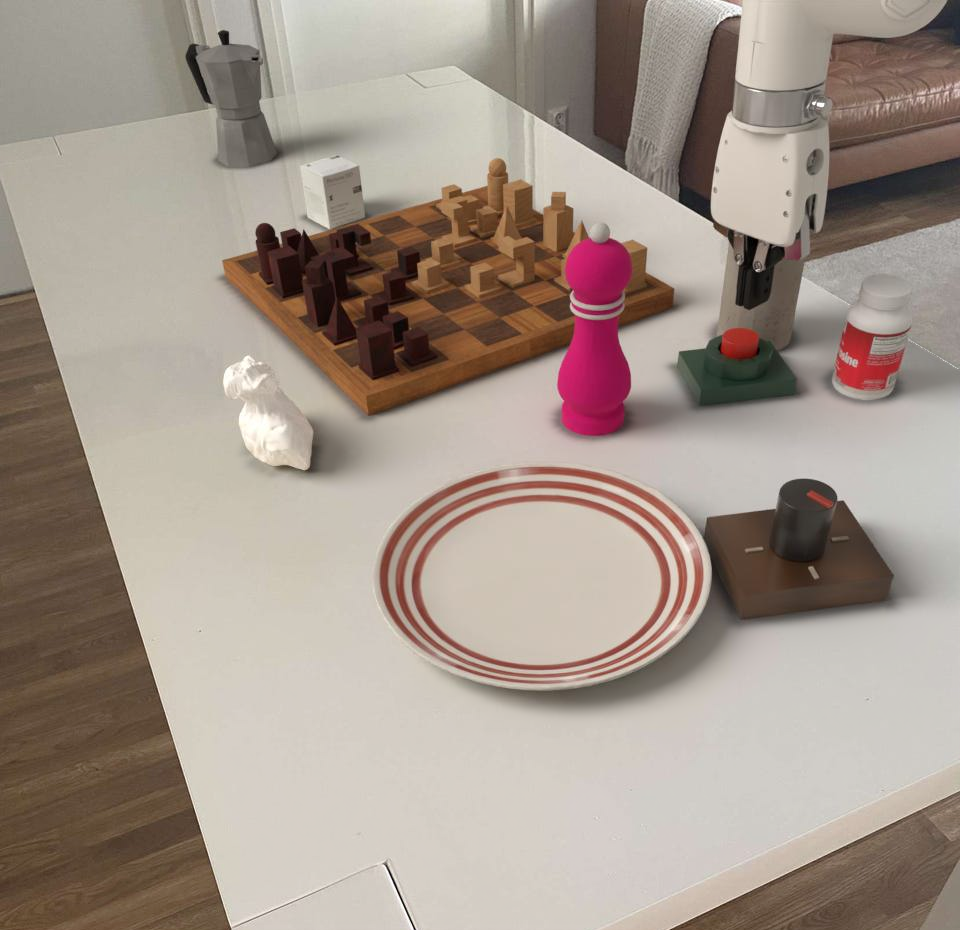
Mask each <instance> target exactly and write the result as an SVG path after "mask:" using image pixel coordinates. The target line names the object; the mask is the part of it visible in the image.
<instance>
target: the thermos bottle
mask: <svg viewBox="0 0 960 930" xmlns="http://www.w3.org/2000/svg"><path fill="white" fill-rule="evenodd" d="M824 117H825V116H821V117H820V119H822V120H825V121H827V120H826V119H825V118H824ZM828 130H829V131H830V124H829V122H828ZM725 261H726V262H725V269H724V277H723V286H722V292H721V299H720V307H719V316H718V323H717V330H716V331H717V332H716V337H718V336H720V335H723V334H724V332H725V331H727V330H729V329H733V328H746V329H750V330H752V331H754V332H756V333H757V334H758V336H759V338H761V339H763V340H765V341H770V342H771V343H772V345H773V346H774V347H775V349H776V350H777V352H778V351H781V350H782V349H784V348H786V347H787V346H788V345H789V344H790V341H791V339H792V332H793V328H794V322H795V317H796V310H797V305H798V301H799V294H800V289H801V285H802V279H803V273H804V268H805V263H806V262H805V261H806V257H805V258H802V259H800V260H785V259H783V260H781V262H780V263H778V264H776V265H775V267H774V274H773V281H772V289H771V294H770V297H769V299H768V301H767V302H765V303H763V304H761V305H759V306H757V307H755V308H753V309H751V310H747V309H745V308H744V306H741V307H740V306H738V305H736V304H735V300H736V292H737V289H736V287H737V279H738V270H739V265H738V264H736V263H735V261H734V250H733V248H732V246H731V244H730V242H729V241H728V246H727V254H726V260H725Z"/></svg>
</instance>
